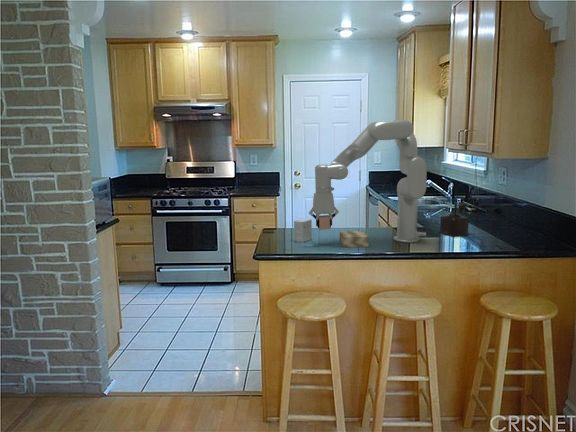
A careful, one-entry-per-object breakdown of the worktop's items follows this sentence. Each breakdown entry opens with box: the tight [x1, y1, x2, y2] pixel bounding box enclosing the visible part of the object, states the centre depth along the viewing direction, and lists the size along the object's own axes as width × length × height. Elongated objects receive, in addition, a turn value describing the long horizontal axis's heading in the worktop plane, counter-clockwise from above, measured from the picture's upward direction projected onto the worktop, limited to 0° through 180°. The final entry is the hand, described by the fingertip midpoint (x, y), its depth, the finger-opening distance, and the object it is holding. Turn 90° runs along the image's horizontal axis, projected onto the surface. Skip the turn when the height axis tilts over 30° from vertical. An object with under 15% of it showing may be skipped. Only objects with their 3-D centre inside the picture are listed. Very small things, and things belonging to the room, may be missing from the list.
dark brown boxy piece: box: [439, 202, 470, 238], centre depth 240 cm, size 16×11×18 cm
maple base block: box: [339, 230, 370, 248], centre depth 226 cm, size 12×12×5 cm
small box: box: [293, 217, 313, 243], centre depth 235 cm, size 8×6×10 cm
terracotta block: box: [318, 214, 331, 231], centre depth 225 cm, size 5×5×6 cm
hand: (324, 226), depth 225 cm, fingers closed on terracotta block, 5 cm apart
